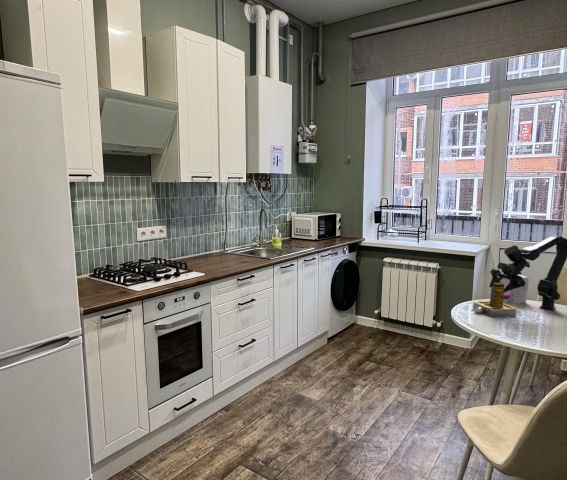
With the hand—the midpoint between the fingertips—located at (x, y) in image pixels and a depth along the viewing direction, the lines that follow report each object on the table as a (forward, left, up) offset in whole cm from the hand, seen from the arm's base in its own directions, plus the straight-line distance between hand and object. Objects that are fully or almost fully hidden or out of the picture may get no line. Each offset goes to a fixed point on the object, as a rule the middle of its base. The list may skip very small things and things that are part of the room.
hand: (496, 289), depth 206 cm
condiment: (0, 0, -9) cm, 9 cm away
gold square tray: (+2, -1, -12) cm, 12 cm away
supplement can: (-22, -3, -12) cm, 25 cm away
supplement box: (-32, +1, -12) cm, 34 cm away
